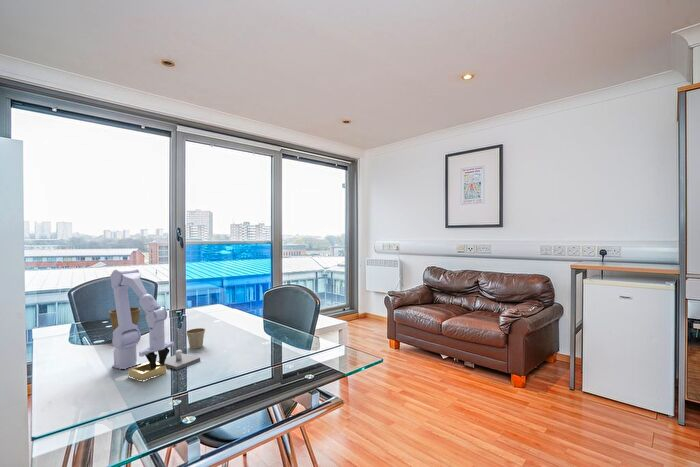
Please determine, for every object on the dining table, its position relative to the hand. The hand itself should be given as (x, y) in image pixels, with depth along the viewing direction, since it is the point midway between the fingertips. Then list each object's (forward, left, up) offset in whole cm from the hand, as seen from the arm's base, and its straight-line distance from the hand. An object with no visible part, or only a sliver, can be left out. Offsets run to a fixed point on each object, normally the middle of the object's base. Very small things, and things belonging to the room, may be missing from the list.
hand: (157, 367), depth 149 cm
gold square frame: (0, -4, -2) cm, 5 cm away
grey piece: (-1, +11, -2) cm, 11 cm away
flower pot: (-13, +29, -2) cm, 31 cm away
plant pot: (-66, +22, -2) cm, 69 cm away
